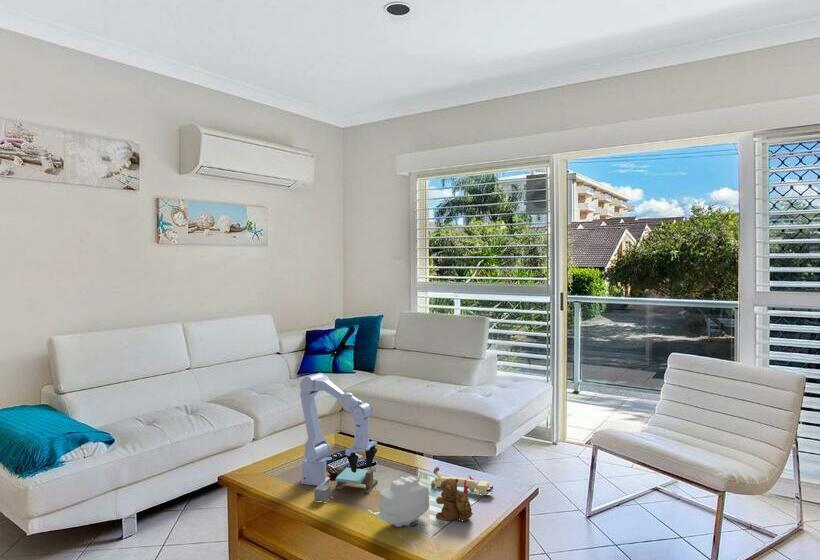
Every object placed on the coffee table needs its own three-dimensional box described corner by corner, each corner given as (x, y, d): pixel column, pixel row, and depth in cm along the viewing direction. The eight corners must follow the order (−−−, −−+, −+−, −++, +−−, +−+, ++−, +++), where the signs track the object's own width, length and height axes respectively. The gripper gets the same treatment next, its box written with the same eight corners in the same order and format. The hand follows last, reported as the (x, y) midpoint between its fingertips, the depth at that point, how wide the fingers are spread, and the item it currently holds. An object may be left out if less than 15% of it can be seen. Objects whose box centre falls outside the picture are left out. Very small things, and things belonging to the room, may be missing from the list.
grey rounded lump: (433, 521, 181) (433, 476, 180) (390, 537, 170) (391, 489, 170) (414, 509, 190) (414, 466, 189) (372, 523, 179) (373, 478, 178)
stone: (314, 502, 195) (314, 489, 194) (319, 496, 199) (319, 484, 199) (325, 503, 193) (325, 490, 193) (330, 498, 198) (330, 485, 198)
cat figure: (429, 493, 206) (490, 500, 196) (428, 471, 206) (488, 477, 196) (438, 483, 215) (497, 490, 205) (437, 462, 215) (495, 468, 205)
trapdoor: (335, 489, 201) (335, 478, 200) (346, 478, 211) (346, 467, 211) (359, 493, 198) (359, 481, 198) (369, 481, 209) (369, 470, 208)
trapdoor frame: (335, 488, 206) (335, 470, 206) (345, 478, 216) (345, 460, 215) (369, 493, 202) (369, 474, 202) (377, 482, 212) (377, 464, 212)
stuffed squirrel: (447, 506, 193) (448, 471, 192) (479, 518, 184) (480, 482, 183) (431, 516, 185) (431, 479, 184) (464, 529, 176) (464, 491, 175)
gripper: (353, 441, 193) (353, 477, 194) (382, 432, 203) (382, 466, 204) (342, 436, 198) (341, 471, 199) (370, 428, 208) (370, 461, 209)
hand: (361, 469), depth 202 cm, fingers open, 7 cm apart
